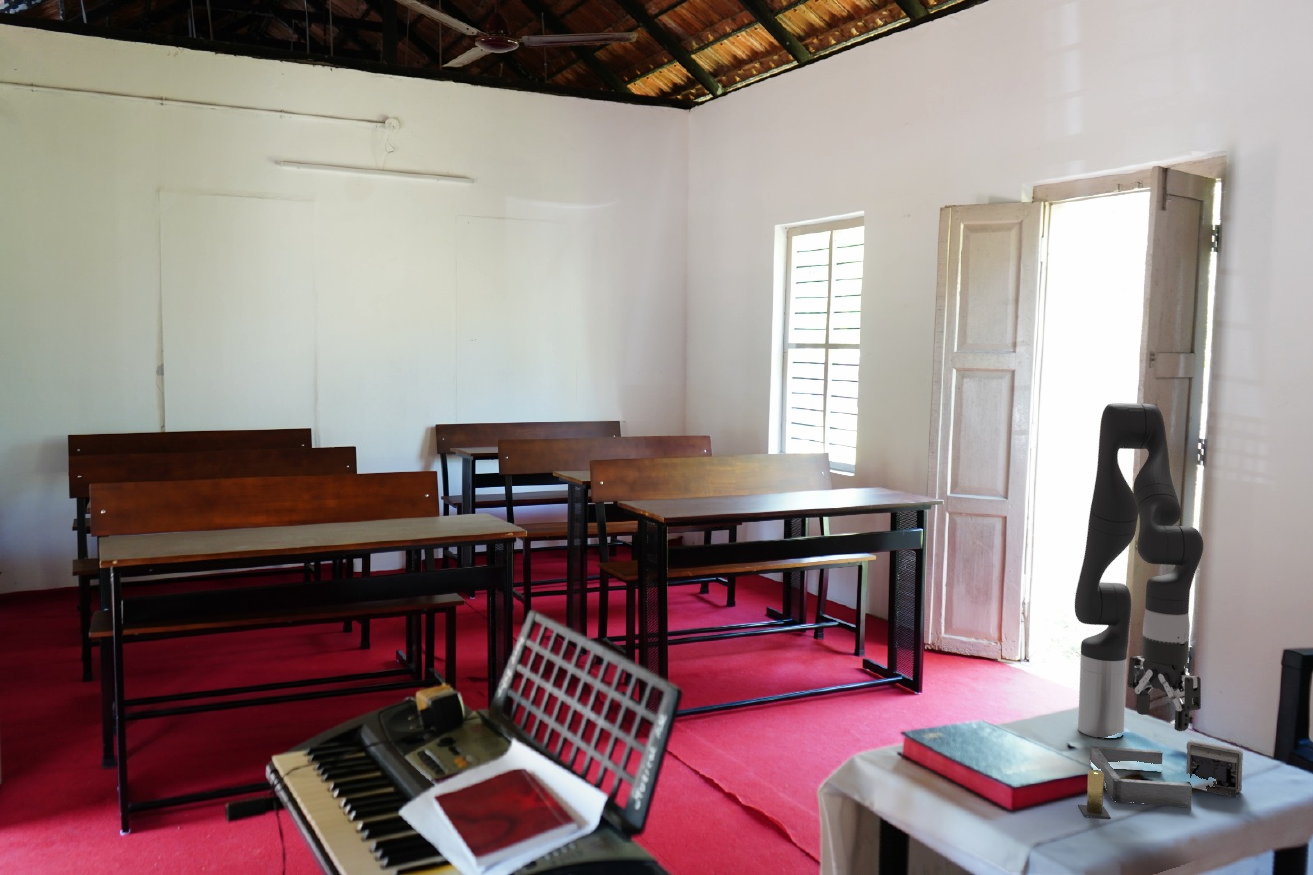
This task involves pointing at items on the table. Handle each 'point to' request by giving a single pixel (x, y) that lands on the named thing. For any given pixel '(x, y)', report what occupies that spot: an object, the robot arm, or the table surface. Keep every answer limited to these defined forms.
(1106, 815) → the pad
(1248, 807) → the table surface
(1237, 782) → the electrical switch
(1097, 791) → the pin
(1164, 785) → the bracket
